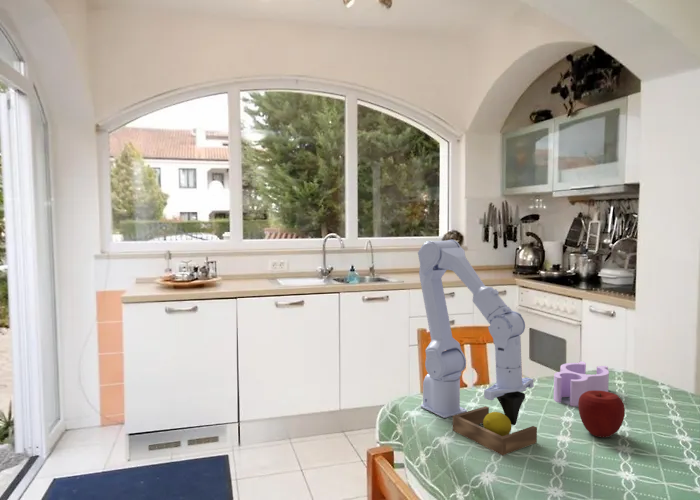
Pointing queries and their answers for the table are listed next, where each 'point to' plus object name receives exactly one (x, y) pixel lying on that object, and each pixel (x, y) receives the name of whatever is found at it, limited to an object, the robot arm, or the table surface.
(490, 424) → the lemon
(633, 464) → the table surface
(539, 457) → the table surface
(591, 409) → the apple
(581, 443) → the table surface
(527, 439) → the frame
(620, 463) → the table surface
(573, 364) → the clip
